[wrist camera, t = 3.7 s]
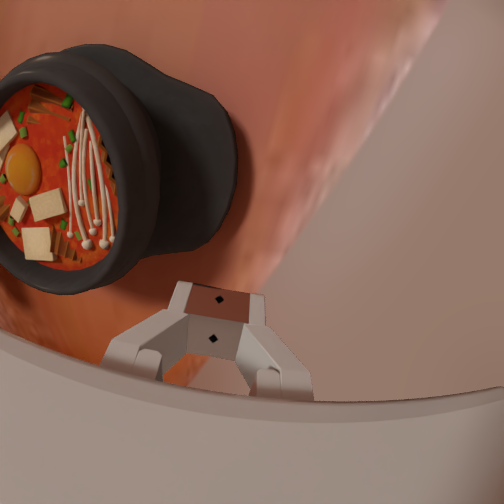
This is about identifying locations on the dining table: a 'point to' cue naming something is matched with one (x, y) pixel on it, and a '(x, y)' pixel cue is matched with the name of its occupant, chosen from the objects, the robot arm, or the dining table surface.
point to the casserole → (106, 167)
